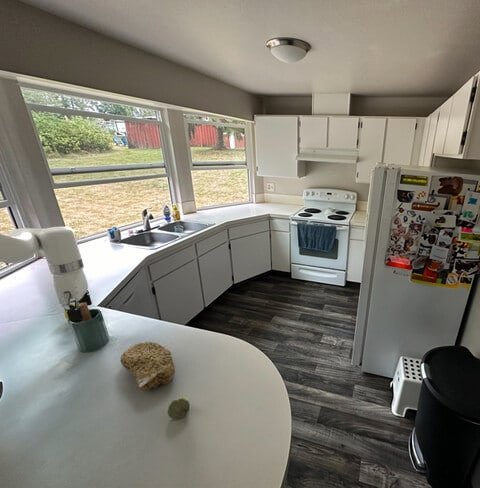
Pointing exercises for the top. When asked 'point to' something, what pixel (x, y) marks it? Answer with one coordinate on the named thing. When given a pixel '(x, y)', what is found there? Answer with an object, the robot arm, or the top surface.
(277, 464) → the top surface
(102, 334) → the teal ceramic mug
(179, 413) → the lime
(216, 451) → the top surface
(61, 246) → the robot arm
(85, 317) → the brush
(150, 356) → the beige grainy bag
